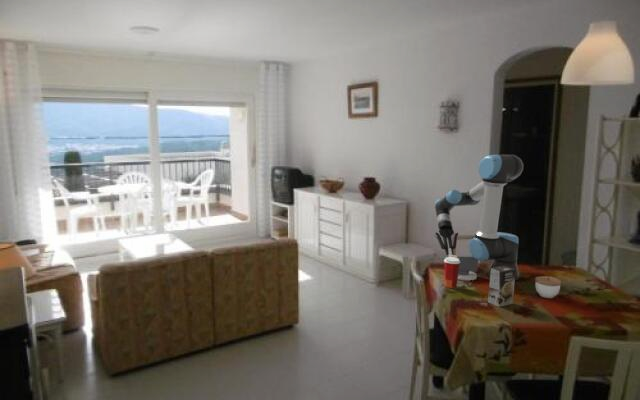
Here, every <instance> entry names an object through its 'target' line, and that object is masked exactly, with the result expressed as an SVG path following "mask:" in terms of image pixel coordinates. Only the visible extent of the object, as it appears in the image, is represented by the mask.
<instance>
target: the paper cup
mask: <svg viewBox="0 0 640 400" xmlns="http://www.w3.org/2000/svg"><path fill="white" fill-rule="evenodd" d="M443 262H444V287H445V288H448V289H456V288H457V286H458V281H459V280H458V273H459V264H460V260H459V259H458V258H455V257H447V256H446V257H445V258H444V260H443Z"/></svg>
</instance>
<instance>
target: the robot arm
mask: <svg viewBox="0 0 640 400" xmlns="http://www.w3.org/2000/svg"><path fill="white" fill-rule="evenodd" d="M523 171H524V162H523V160H522V159H521V158H520V157H519V156H517V155H515V154H489V155H486V156H484V157H483V158H482V159H481V160H480V163H479V165H478V173H479V176H480V177H481V178H482V179H481V180H482V181H481V182H479V183H478V184H476V185H475V186H474V187H473V188H471V189H469V190H468V191H465V192H461V191H459V190H457V189H451V190H450V191H449V192H447V194H446V195H445V196H444V197H442V198H438V199H436V200H435V202H434V208H435V215H436V220H437V228H438V231H436V232H435V234H434V236H435V238H436V239H437V241H438V243H439V245H440V248H441V249H442V250H444V251H445V255H446V256H448V257H450V255H455V254H454V250H456V247H457V240H458V235H459V233H458V232H455V231H454V229H453V224H452V219H451V213H450V211H451V210H452V209H454V207H463V206H476V205H478V204H480V202H481V200H482V205H481V210H480V211H481V213H480V220H479V228H478V230H477V231H475V235H474V238H471V239H470V240H469V243H468V249H469V253H470V254H471V255H470V256H473V257H474V258H475V259H476V260H478V262H479V261H480V262H481V261H485V262H486V261H489V260H492V262H491V265H490V267H489V269H488V276H489V277H490V274H491V268H495V267H501V266H506V267H510V268H513V269H516V272H515V281H517V280H519V279H520V272H519V271H520V270H519V268H518V252H519V237H518V236H517V235H515V234H512V233H508V232H501V231H498V227H499V218H500V213H501V207H502V206H501V205H502V200H503V199H502V198H503V192H504V191H503V190H504V186H506V185H507V184H508V182H512V181H514V180H515V179H518V177H520V176H521V174H522V172H523ZM452 236H453V241H452Z"/></svg>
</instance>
